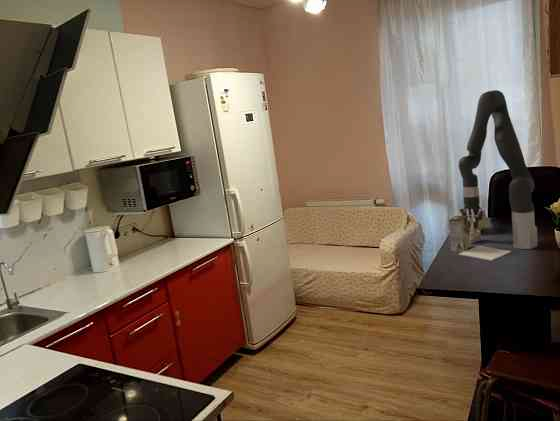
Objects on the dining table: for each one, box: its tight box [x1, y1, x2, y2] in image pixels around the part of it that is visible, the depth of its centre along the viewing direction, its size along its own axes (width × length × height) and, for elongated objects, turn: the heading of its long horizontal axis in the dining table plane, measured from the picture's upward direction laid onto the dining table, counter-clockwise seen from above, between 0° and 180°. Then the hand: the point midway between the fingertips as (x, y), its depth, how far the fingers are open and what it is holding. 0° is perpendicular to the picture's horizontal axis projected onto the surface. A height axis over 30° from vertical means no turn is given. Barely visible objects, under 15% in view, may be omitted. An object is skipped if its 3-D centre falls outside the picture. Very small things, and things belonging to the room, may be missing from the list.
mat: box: [458, 245, 512, 261], centre depth 213 cm, size 17×15×1 cm
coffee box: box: [448, 215, 471, 253], centre depth 223 cm, size 9×6×16 cm
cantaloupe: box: [458, 207, 488, 233], centre depth 250 cm, size 15×15×15 cm
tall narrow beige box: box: [469, 217, 482, 245], centre depth 232 cm, size 2×8×13 cm, turn 122°
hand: (473, 228), depth 232 cm, fingers closed on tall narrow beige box, 2 cm apart
